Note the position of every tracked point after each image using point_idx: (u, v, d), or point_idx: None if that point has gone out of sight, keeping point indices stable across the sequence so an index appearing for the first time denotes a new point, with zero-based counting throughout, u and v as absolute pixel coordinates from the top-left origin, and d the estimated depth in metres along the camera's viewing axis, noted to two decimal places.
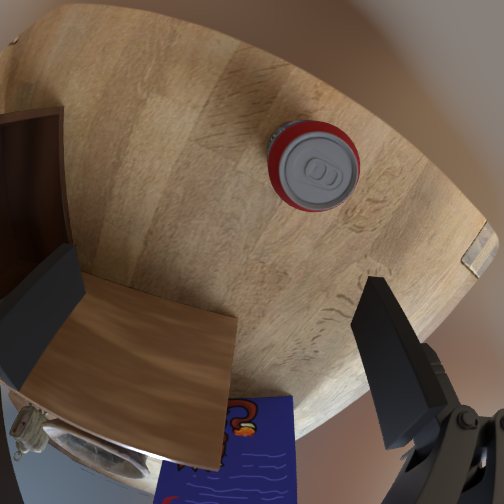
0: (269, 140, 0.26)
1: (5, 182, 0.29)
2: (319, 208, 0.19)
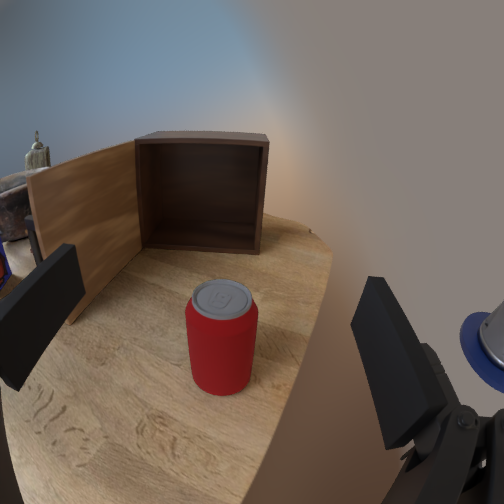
0: None
1: (216, 221, 0.67)
2: (193, 297, 0.24)
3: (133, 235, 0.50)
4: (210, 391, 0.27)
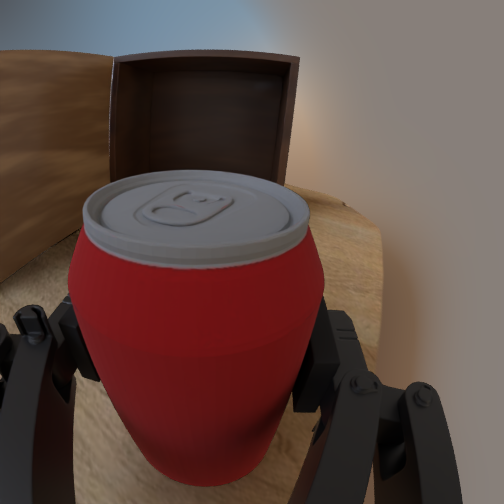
0: None
1: None
2: (96, 195, 0.06)
3: (98, 185, 0.32)
4: (170, 476, 0.09)
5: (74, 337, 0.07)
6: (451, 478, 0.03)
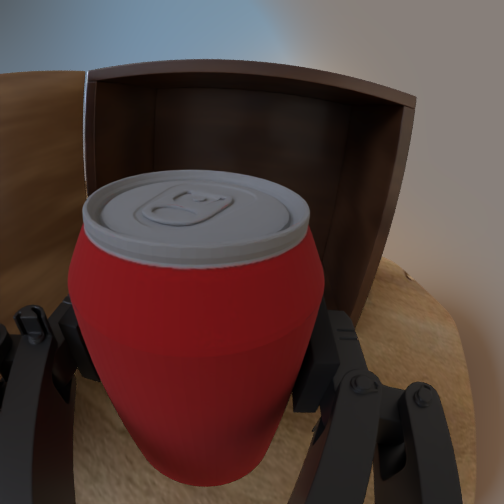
0: None
1: None
2: (96, 195, 0.06)
3: None
4: (170, 476, 0.09)
5: (74, 337, 0.07)
6: (451, 478, 0.03)
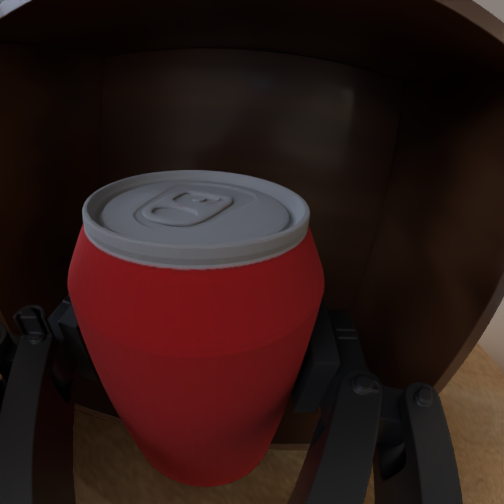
0: None
1: None
2: (96, 195, 0.06)
3: None
4: (170, 476, 0.09)
5: (74, 337, 0.07)
6: (452, 478, 0.03)
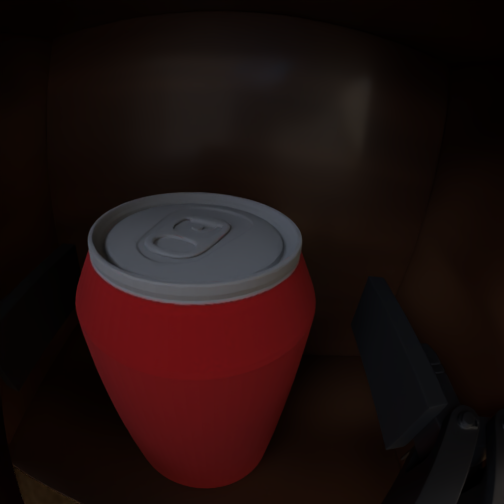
0: None
1: None
2: (99, 223, 0.07)
3: None
4: (171, 478, 0.09)
5: None
6: None
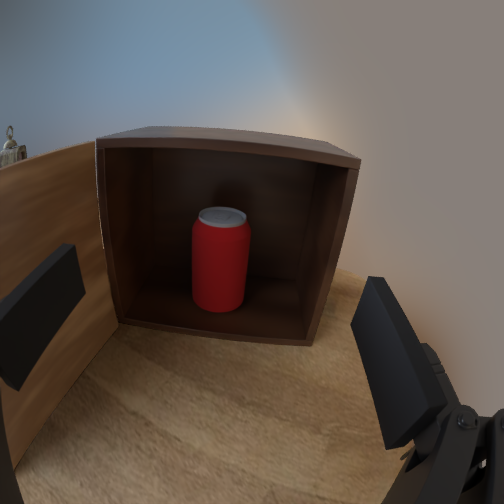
0: None
1: None
2: (200, 214, 0.31)
3: (100, 312, 0.27)
4: (206, 307, 0.34)
5: None
6: None
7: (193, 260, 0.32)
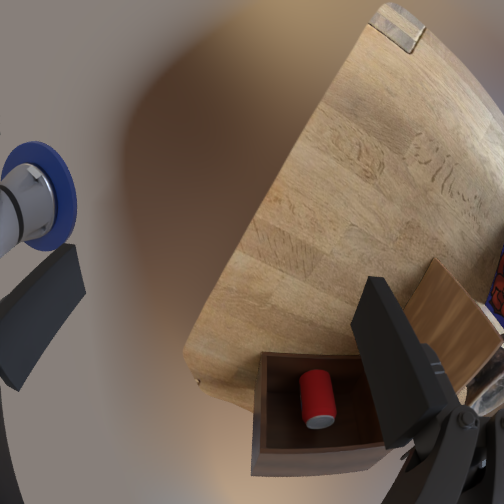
0: None
1: (296, 393, 0.59)
2: (333, 421, 0.45)
3: None
4: (323, 372, 0.53)
5: None
6: None
7: (333, 396, 0.49)
